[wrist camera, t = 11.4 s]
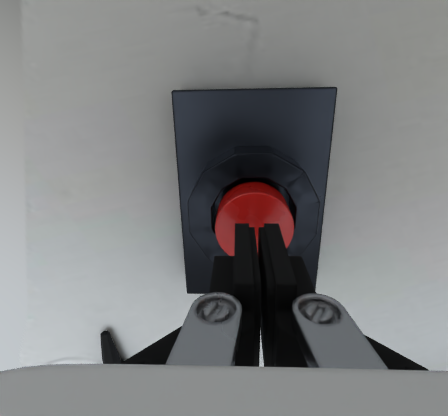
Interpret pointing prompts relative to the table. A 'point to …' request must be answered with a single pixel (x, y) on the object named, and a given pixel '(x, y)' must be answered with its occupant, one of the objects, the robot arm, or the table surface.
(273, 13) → the table surface
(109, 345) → the microphone
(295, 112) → the button box
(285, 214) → the button
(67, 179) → the table surface
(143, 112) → the table surface
